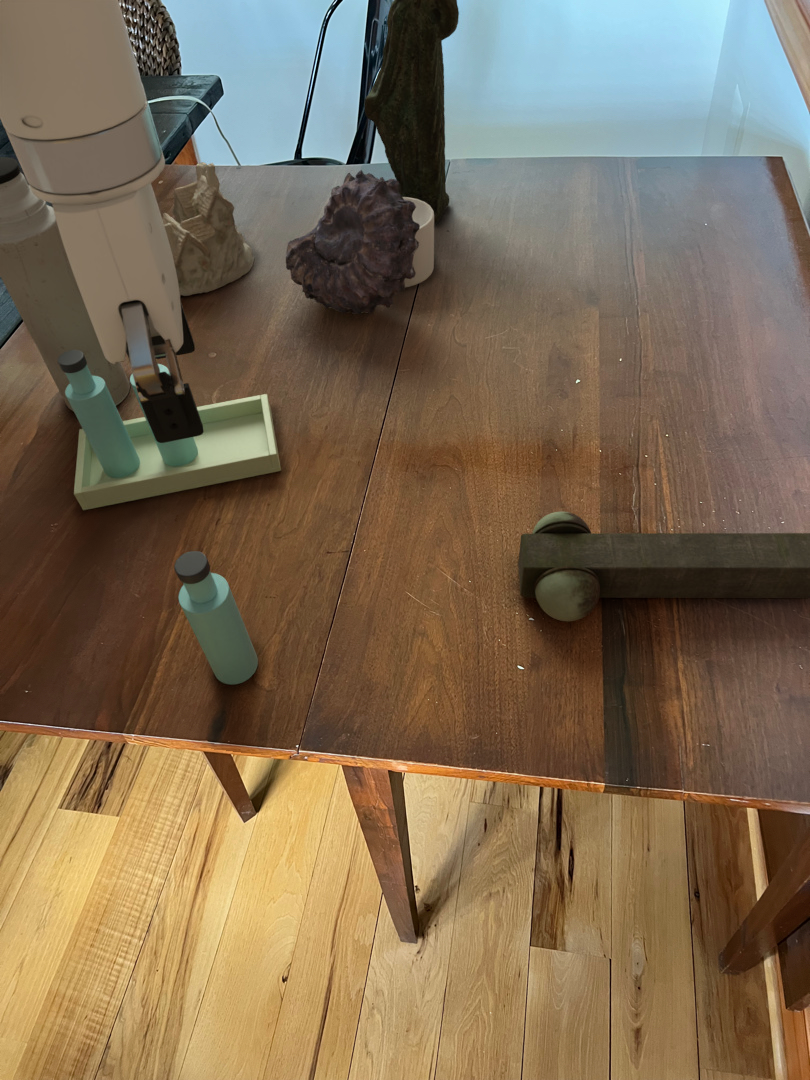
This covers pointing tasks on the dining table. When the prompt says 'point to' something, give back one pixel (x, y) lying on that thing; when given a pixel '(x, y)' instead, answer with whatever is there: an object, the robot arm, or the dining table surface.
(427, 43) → the statue
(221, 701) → the dining table surface
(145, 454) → the tray
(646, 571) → the post
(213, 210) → the ceramic cottage
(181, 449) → the tray bottle
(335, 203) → the seashell
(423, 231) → the mug
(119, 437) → the tray bottle
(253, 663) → the bottle
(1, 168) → the thermos bottle
